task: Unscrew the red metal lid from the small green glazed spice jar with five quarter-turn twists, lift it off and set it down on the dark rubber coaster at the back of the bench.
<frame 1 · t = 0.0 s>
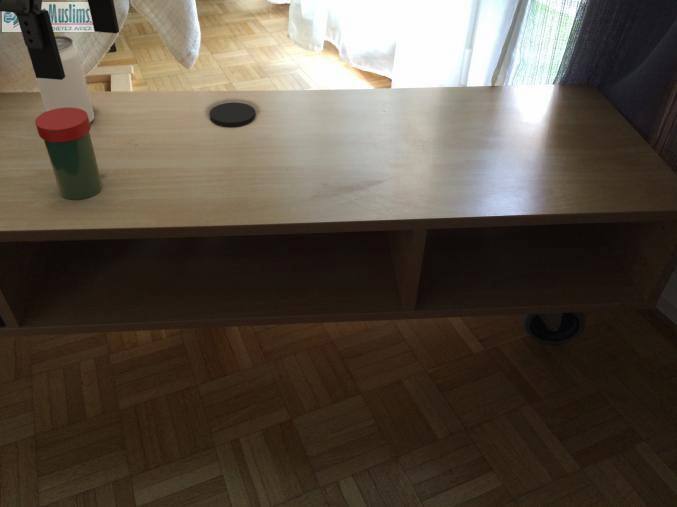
hand: (81, 53, 67), 18 cm above the tv stand, tool pointing down, fingers open, 13 cm apart
can: (72, 122, 93), on the tv stand
jar: (81, 188, 78), on the tv stand
jar lid: (62, 120, 72), point 9 cm above the tv stand, screwed on, not yet turned
coaster: (232, 116, 95), on the tv stand
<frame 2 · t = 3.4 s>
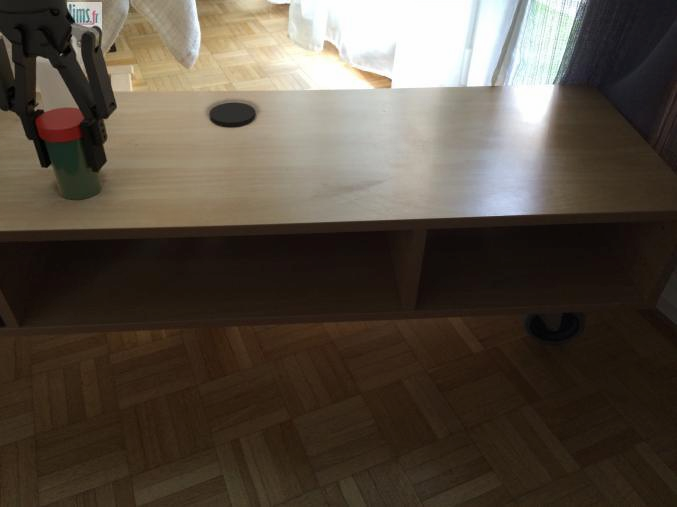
hand: (74, 164, 76), 4 cm above the tv stand, tool pointing down, fingers closed on jar lid, 6 cm apart
jar lid: (62, 120, 72), point 9 cm above the tv stand, screwed on, not yet turned, touching gripper
everything else where it was.
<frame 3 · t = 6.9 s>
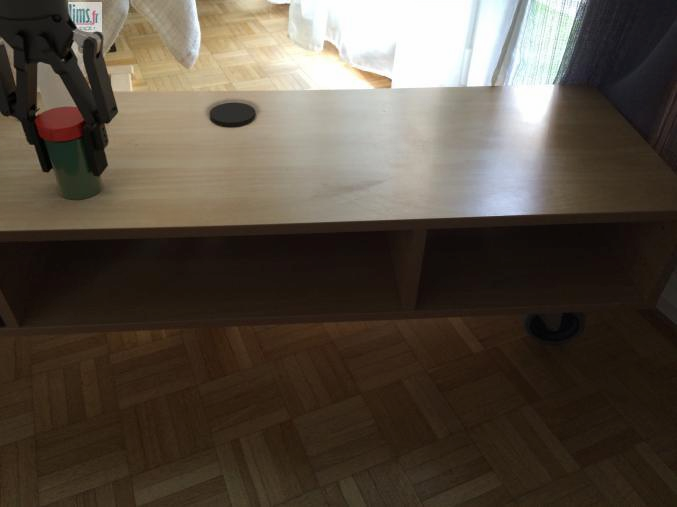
hand: (75, 168, 76), 3 cm above the tv stand, tool pointing down, fingers closed on jar lid, 6 cm apart
jar lid: (62, 120, 72), point 10 cm above the tv stand, turned 89° so far, risen 0.1 cm, still on its thread, touching gripper
everything else where it was.
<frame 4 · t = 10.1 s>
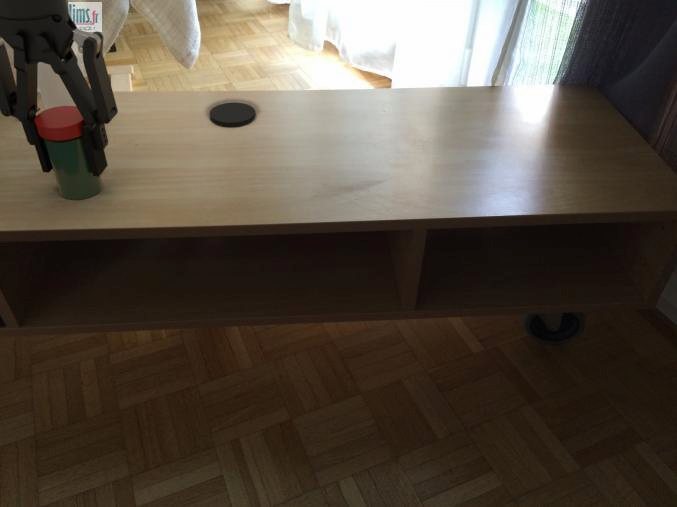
hand: (75, 168, 76), 3 cm above the tv stand, tool pointing down, fingers closed on jar lid, 6 cm apart
jar lid: (61, 119, 72), point 10 cm above the tv stand, turned 178° so far, risen 0.2 cm, still on its thread, touching gripper
everything else where it was.
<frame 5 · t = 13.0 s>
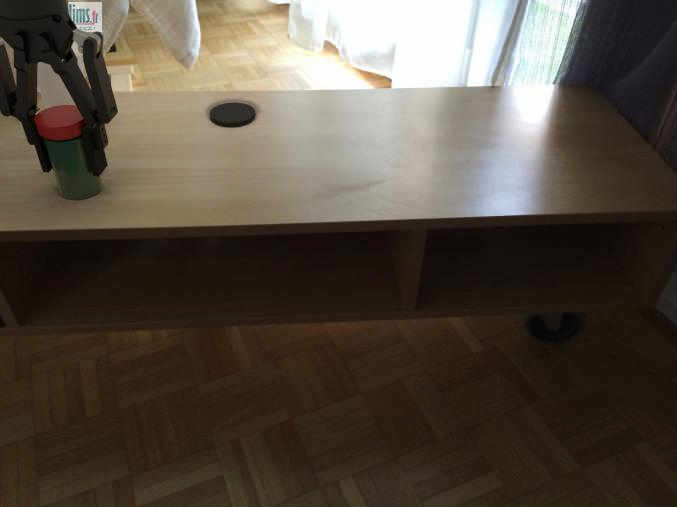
hand: (75, 168, 76), 3 cm above the tv stand, tool pointing down, fingers closed on jar lid, 6 cm apart
jar lid: (61, 118, 72), point 10 cm above the tv stand, turned 267° so far, risen 0.3 cm, still on its thread, touching gripper
everything else where it was.
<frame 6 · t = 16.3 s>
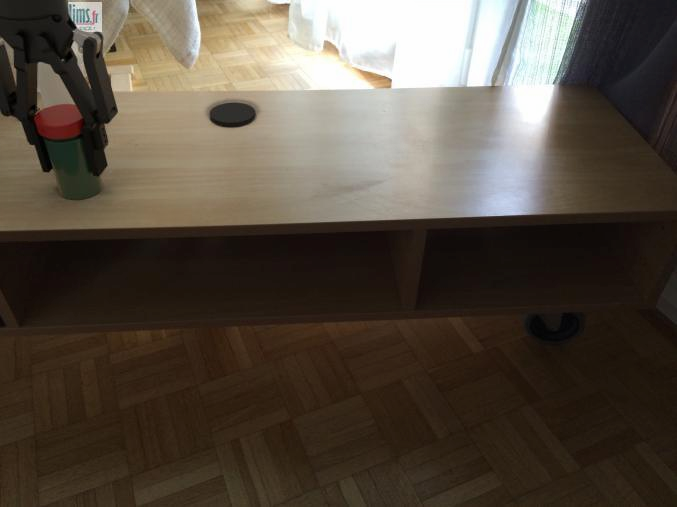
hand: (75, 168, 76), 3 cm above the tv stand, tool pointing down, fingers closed on jar lid, 6 cm apart
jar lid: (61, 117, 72), point 10 cm above the tv stand, turned 356° so far, risen 0.4 cm, still on its thread, touching gripper
everything else where it was.
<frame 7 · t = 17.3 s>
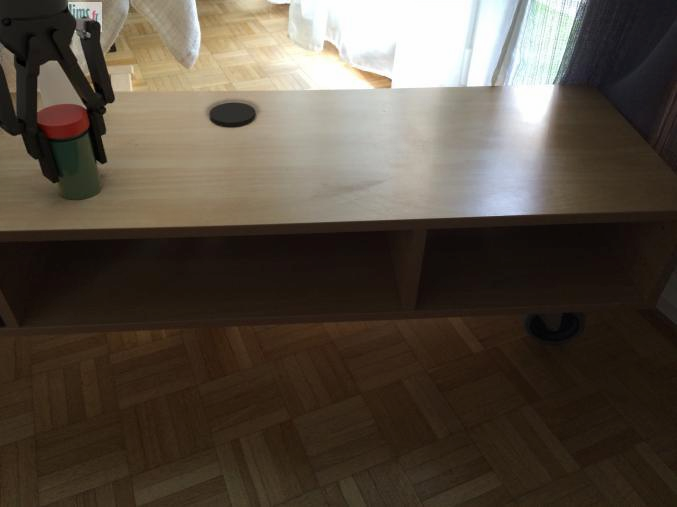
hand: (75, 168, 76), 3 cm above the tv stand, tool pointing down, fingers closed on jar lid, 6 cm apart
jar lid: (61, 117, 72), point 10 cm above the tv stand, off its thread, touching gripper
everything else where it was.
when the fingers open (1 cm above the tv stand, at t = 25.3 s): jar lid drops 6 cm, resting on coaster.
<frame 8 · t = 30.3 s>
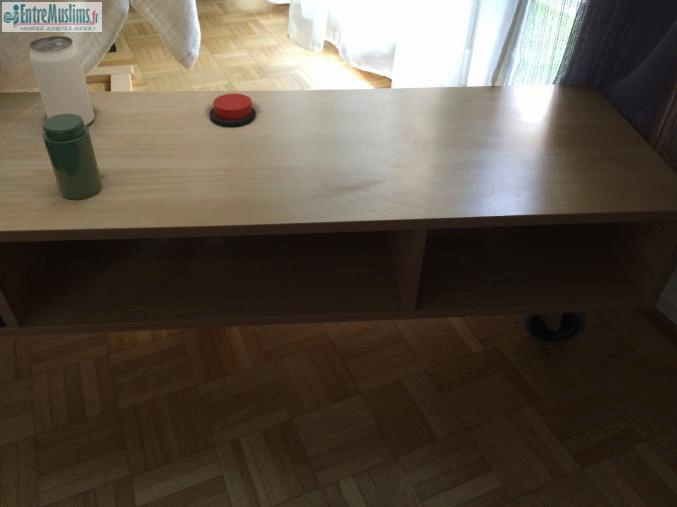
jar lid: (232, 103, 94), point 2 cm above the tv stand, off its thread, touching coaster
everything else where it was.
at the end: jar lid inside the target area on the coaster (0.2 cm from its centre), point 2.1 cm above the coaster's base; the gripper is holding nothing; jar tilted 0° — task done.
